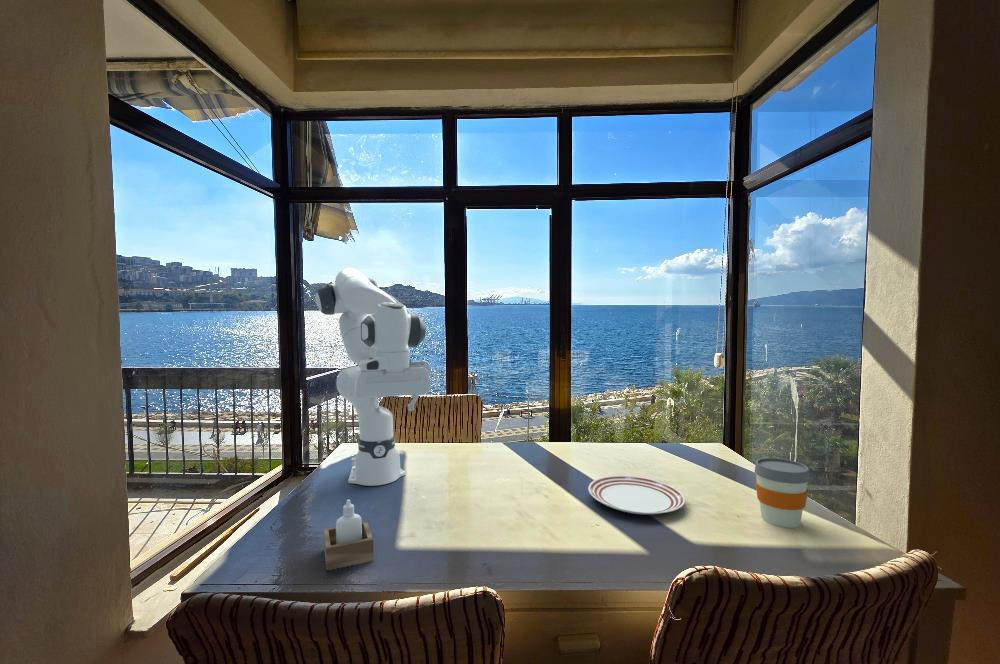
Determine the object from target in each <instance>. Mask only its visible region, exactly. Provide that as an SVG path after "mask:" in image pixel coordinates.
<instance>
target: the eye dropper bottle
mask: <svg viewBox="0 0 1000 664" xmlns="http://www.w3.org/2000/svg"><path fill="white" fill-rule="evenodd" d="M362 519H363V518H362V517H361V515H360V514H358V513H355V505H354V504H353V503H351V499H347V500H346V503H345V504H344V505H343V506H342V516H341V517H339V518H337V520H336V521H335V527H336V544H341V543H346V542H352V541H357V540H362V522H363V521H362Z"/></svg>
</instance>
